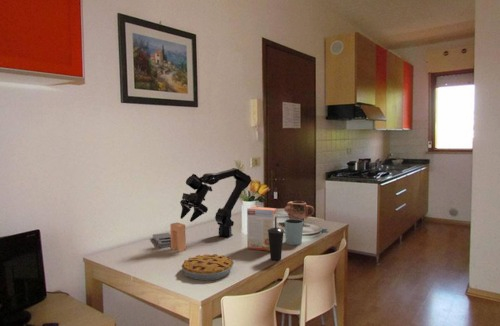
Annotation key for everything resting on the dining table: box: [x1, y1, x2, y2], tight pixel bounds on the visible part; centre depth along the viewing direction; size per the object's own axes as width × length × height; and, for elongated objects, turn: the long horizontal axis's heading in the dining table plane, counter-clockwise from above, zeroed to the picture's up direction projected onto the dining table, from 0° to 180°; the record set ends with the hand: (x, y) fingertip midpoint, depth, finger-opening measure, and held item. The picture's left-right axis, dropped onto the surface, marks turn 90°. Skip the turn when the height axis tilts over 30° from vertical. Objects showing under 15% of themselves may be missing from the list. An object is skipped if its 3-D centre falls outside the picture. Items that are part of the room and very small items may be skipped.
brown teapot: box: [283, 200, 315, 223], centre depth 239 cm, size 20×12×14 cm, turn 72°
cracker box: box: [246, 206, 277, 252], centre depth 186 cm, size 14×6×21 cm, turn 69°
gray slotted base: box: [152, 232, 171, 249], centre depth 199 cm, size 20×9×2 cm, turn 25°
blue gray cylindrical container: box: [284, 218, 305, 246], centre depth 196 cm, size 10×10×12 cm
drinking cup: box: [268, 216, 285, 262], centre depth 170 cm, size 8×8×20 cm
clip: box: [169, 222, 187, 253], centre depth 185 cm, size 7×4×13 cm, turn 48°
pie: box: [181, 253, 235, 281], centre depth 156 cm, size 22×22×5 cm
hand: (185, 220), depth 191 cm, fingers open, 9 cm apart
